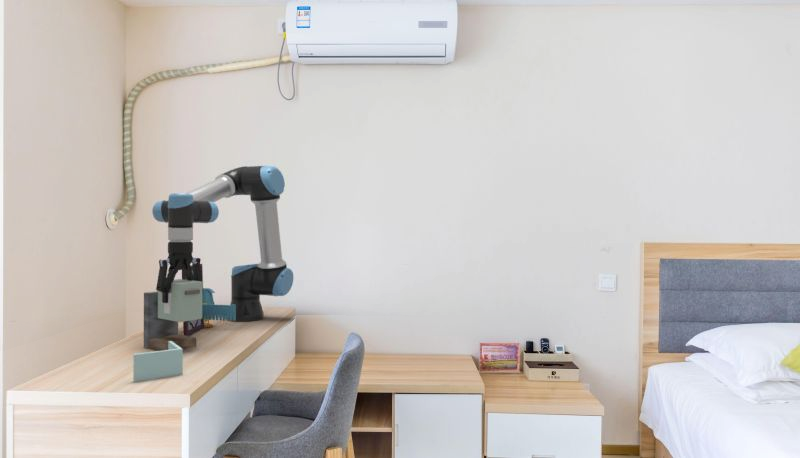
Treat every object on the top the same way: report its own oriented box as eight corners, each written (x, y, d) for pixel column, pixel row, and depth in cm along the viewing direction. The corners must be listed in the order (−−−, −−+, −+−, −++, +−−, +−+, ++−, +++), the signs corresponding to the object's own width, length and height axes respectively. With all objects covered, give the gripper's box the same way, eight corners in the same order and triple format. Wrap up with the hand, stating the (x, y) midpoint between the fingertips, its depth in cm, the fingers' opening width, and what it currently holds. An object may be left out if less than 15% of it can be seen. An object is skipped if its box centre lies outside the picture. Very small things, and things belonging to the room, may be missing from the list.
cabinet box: (179, 314, 186) (179, 279, 186) (203, 318, 179) (203, 281, 179) (157, 318, 179) (157, 281, 179) (181, 322, 172) (182, 284, 172)
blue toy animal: (243, 326, 220) (243, 288, 219) (235, 330, 211) (235, 290, 211) (175, 324, 222) (175, 286, 221) (164, 328, 213) (164, 289, 213)
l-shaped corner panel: (171, 366, 159) (171, 340, 159) (182, 376, 150) (182, 349, 150) (125, 373, 152) (125, 346, 152) (134, 383, 143) (134, 354, 143)
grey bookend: (173, 341, 190) (174, 289, 190) (196, 346, 183) (196, 292, 183) (143, 347, 181) (143, 292, 181) (166, 353, 174) (166, 296, 174)
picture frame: (186, 337, 198) (187, 267, 197) (159, 336, 198) (160, 267, 198) (204, 328, 214) (204, 263, 214) (179, 327, 215) (179, 263, 214)
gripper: (200, 240, 190) (200, 306, 190) (143, 241, 172) (143, 314, 173) (214, 240, 185) (214, 308, 186) (157, 242, 168) (157, 316, 168)
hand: (180, 311), depth 179 cm, fingers closed on cabinet box, 8 cm apart
